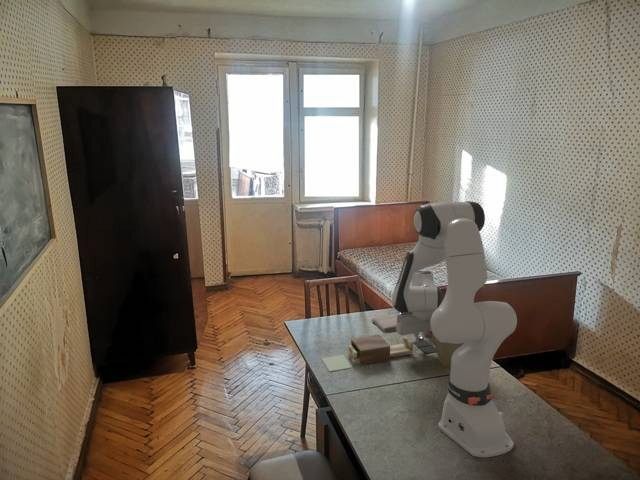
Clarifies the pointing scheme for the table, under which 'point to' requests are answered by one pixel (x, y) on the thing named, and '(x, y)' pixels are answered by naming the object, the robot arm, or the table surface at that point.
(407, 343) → the board
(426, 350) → the pit pad
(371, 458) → the table surface
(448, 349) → the plant pot
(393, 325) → the washcloth
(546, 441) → the table surface
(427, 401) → the table surface
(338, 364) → the pad
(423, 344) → the plate
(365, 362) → the tunnel
